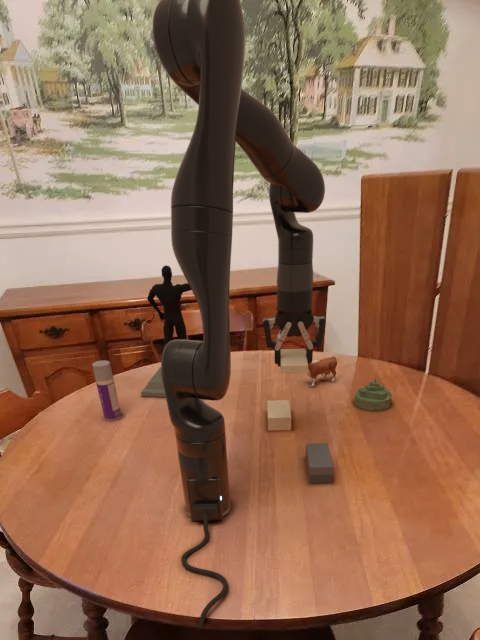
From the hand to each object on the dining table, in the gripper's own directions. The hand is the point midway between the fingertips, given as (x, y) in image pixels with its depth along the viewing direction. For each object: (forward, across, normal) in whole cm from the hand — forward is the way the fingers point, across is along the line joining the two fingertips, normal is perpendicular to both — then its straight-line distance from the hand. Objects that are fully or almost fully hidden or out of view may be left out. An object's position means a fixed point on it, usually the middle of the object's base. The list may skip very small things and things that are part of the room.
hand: (293, 364), depth 114 cm
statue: (+18, -33, +35) cm, 51 cm away
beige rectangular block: (0, 0, 0) cm, 0 cm away
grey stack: (+18, +5, -18) cm, 26 cm away
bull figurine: (+19, +10, +34) cm, 40 cm away
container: (+18, -49, +12) cm, 54 cm away
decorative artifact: (+18, +24, +18) cm, 35 cm away
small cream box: (+18, -3, +8) cm, 20 cm away
